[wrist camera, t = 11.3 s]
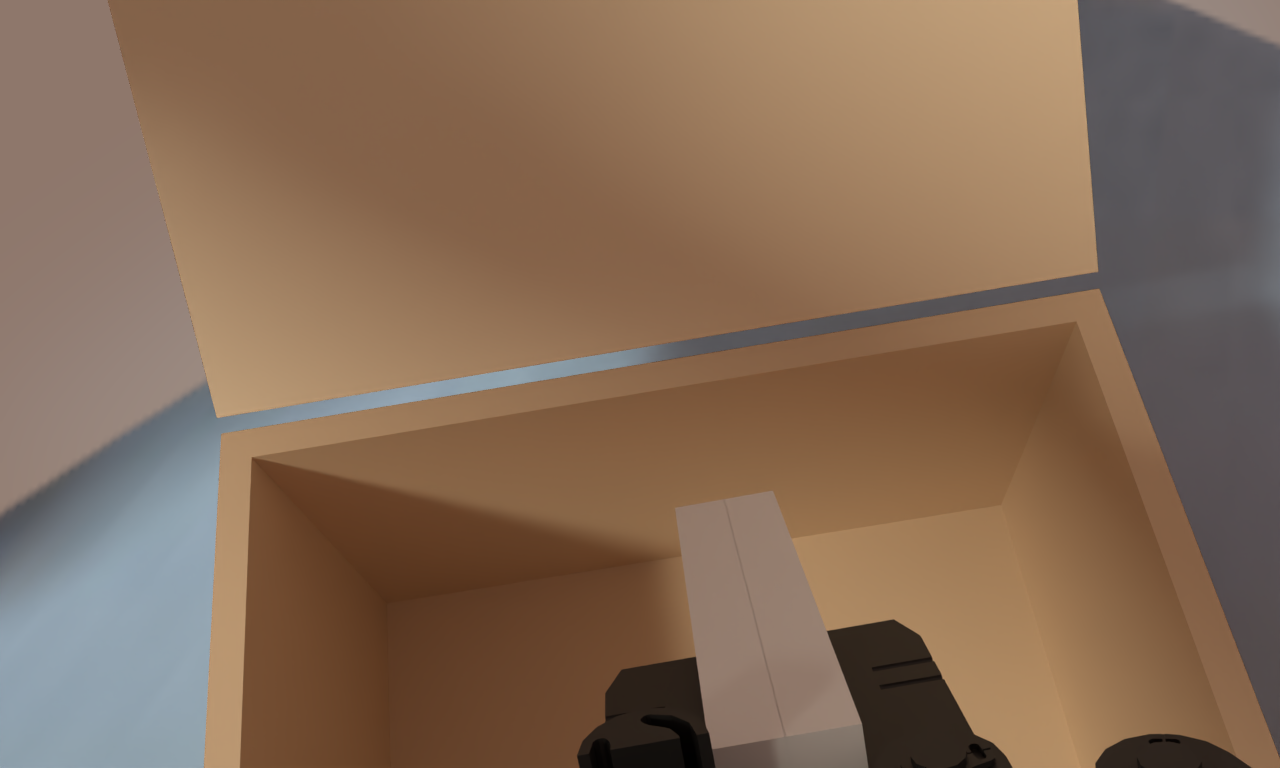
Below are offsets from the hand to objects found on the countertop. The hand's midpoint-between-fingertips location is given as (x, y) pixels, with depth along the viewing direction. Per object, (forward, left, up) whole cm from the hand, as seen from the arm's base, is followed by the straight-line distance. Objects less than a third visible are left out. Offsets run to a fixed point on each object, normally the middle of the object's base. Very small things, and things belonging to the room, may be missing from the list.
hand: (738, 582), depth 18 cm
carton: (0, -1, -20) cm, 20 cm away
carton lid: (-14, +7, -2) cm, 16 cm away
